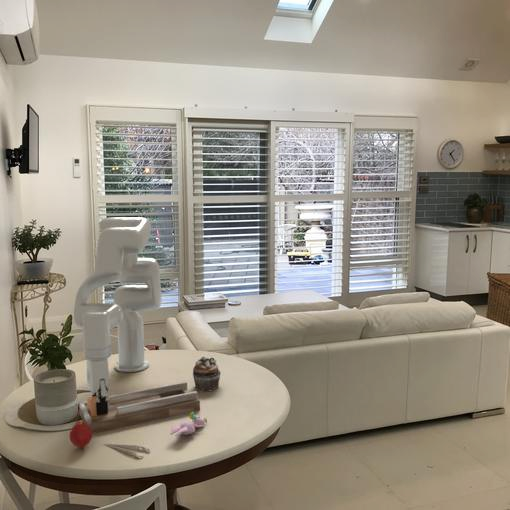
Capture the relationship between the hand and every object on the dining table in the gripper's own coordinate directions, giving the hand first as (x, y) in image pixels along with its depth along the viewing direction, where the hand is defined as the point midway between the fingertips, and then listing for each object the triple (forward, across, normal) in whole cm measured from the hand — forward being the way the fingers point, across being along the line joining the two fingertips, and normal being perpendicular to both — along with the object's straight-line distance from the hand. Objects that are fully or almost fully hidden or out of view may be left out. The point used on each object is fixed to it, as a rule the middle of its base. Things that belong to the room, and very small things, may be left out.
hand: (100, 409), depth 161 cm
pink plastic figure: (+4, +19, +21) cm, 29 cm away
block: (+1, 0, -1) cm, 1 cm away
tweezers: (+4, +19, +1) cm, 19 cm away
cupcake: (+4, -9, +38) cm, 39 cm away
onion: (+4, +14, -8) cm, 16 cm away
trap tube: (+4, 0, +12) cm, 13 cm away
